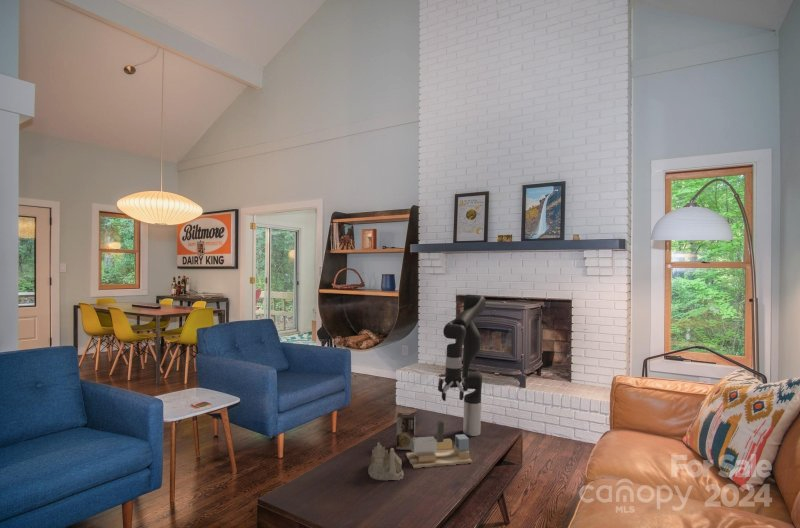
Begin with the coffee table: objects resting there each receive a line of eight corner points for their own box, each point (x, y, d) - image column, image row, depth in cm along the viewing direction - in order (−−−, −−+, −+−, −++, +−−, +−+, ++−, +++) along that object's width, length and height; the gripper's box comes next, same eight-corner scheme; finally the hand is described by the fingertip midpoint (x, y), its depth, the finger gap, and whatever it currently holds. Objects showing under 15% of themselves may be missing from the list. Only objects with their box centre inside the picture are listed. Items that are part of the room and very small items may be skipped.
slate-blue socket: (453, 451, 218) (454, 433, 218) (463, 451, 219) (463, 433, 219) (459, 458, 210) (460, 440, 210) (469, 458, 211) (469, 439, 211)
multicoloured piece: (417, 448, 211) (417, 422, 211) (449, 445, 215) (450, 420, 215) (419, 451, 208) (419, 424, 208) (452, 448, 212) (452, 422, 212)
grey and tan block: (409, 454, 214) (409, 436, 214) (431, 452, 216) (431, 434, 216) (415, 463, 204) (415, 444, 204) (437, 461, 207) (438, 442, 207)
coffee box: (415, 445, 228) (415, 413, 227) (414, 450, 221) (415, 417, 221) (397, 444, 228) (397, 412, 228) (395, 449, 222) (396, 416, 222)
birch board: (406, 455, 216) (406, 452, 216) (461, 450, 222) (461, 448, 222) (413, 468, 202) (413, 465, 202) (472, 463, 208) (472, 460, 208)
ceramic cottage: (401, 482, 189) (401, 445, 190) (363, 479, 192) (363, 443, 193) (408, 468, 204) (408, 434, 205) (372, 465, 207) (373, 432, 208)
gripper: (464, 364, 222) (463, 397, 221) (436, 364, 218) (435, 398, 218) (470, 367, 214) (469, 401, 214) (442, 368, 211) (441, 403, 211)
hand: (452, 400), depth 216 cm, fingers open, 8 cm apart
